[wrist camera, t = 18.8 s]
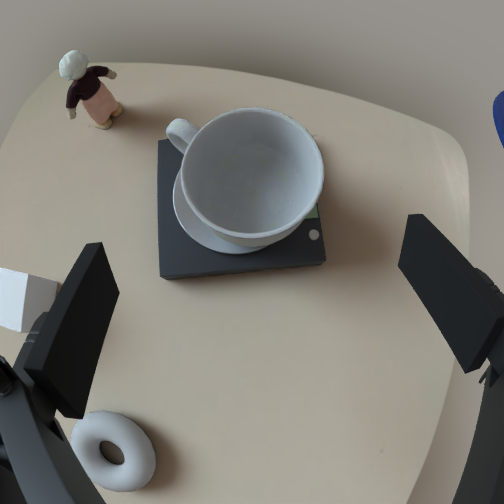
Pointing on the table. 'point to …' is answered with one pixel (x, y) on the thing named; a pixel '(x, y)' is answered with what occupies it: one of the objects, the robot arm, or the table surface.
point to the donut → (126, 438)
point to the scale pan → (204, 227)
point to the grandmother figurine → (89, 89)
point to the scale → (211, 263)
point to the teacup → (249, 174)
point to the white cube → (24, 299)
